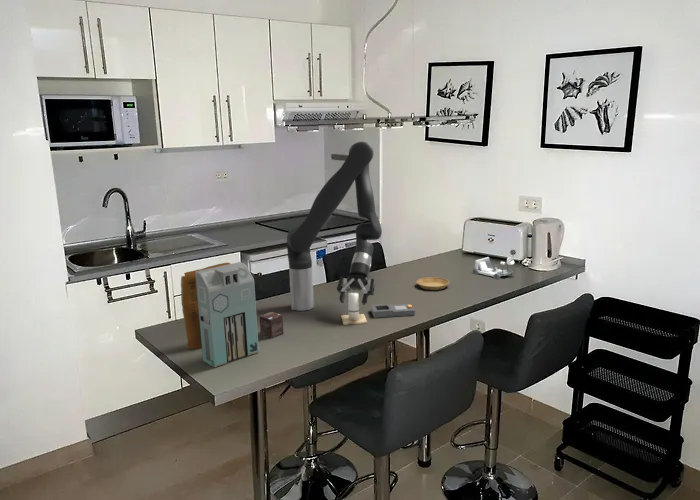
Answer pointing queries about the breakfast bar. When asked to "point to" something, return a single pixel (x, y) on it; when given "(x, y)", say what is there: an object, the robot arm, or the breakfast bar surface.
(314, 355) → the breakfast bar surface
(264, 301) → the breakfast bar surface
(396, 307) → the grey charging base
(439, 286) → the plant saucer
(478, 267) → the white wheeled toy
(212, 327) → the device
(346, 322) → the cork coaster
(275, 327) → the box
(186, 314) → the pancake mix bag
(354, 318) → the plug
